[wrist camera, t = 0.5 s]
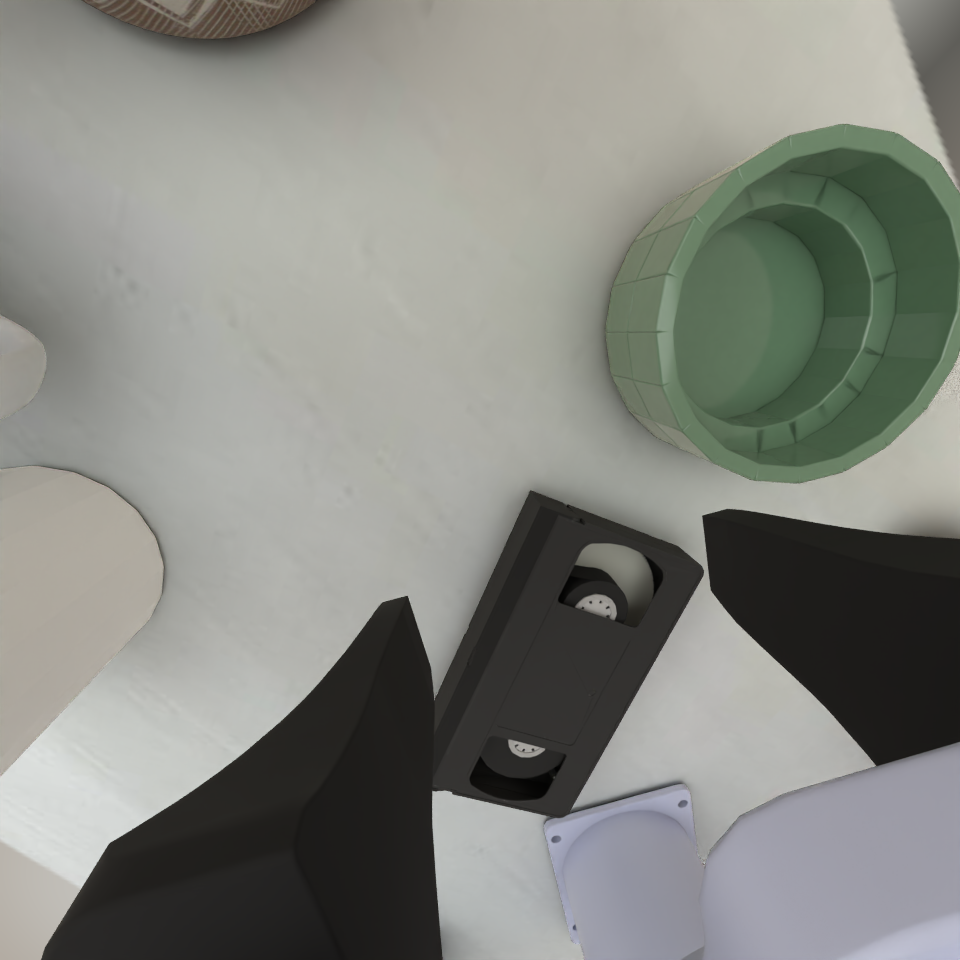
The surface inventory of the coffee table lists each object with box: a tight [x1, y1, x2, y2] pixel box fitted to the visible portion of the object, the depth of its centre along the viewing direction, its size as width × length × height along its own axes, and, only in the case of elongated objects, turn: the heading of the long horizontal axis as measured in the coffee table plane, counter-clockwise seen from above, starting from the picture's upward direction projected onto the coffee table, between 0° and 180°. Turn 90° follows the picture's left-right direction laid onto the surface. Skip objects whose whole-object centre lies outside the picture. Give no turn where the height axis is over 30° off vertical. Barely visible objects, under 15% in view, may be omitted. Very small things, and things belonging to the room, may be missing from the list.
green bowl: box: [605, 124, 960, 483], centre depth 18 cm, size 10×10×5 cm
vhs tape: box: [432, 491, 704, 818], centre depth 23 cm, size 14×8×2 cm, turn 157°
